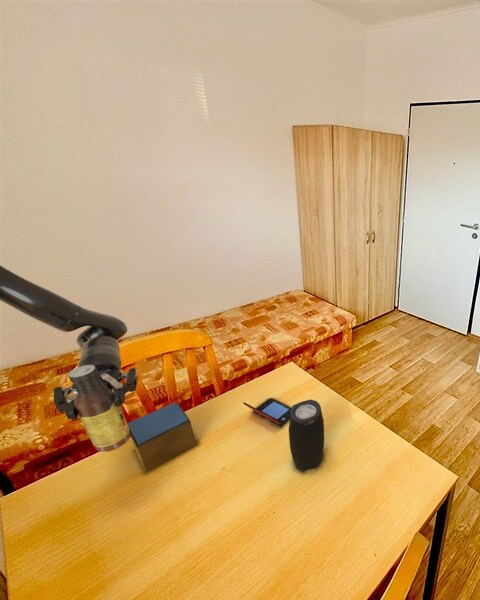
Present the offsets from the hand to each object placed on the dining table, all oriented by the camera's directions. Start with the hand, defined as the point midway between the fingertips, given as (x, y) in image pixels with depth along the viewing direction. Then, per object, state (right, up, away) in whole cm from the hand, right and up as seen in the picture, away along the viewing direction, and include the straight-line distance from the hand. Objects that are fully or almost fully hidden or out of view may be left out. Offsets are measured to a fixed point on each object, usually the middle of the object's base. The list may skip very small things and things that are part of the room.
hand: (96, 409), depth 65 cm
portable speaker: (+36, -24, +27) cm, 51 cm away
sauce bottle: (-2, -10, +7) cm, 12 cm away
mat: (-4, -11, +22) cm, 25 cm away
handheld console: (+20, -16, +40) cm, 47 cm away
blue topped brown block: (-5, -20, +26) cm, 33 cm away
